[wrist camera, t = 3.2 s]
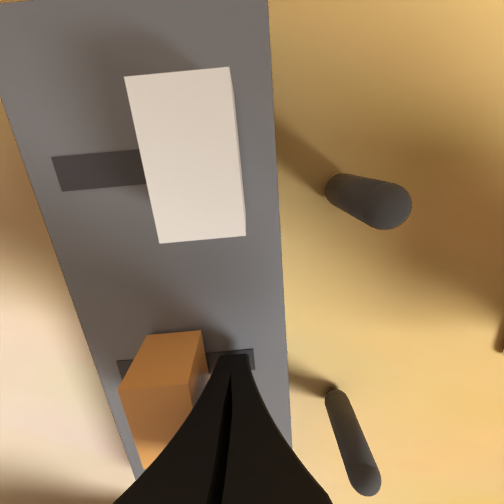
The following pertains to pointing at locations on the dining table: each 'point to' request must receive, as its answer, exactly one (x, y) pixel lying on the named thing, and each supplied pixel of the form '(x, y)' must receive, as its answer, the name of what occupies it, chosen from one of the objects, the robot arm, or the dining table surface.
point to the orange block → (162, 389)
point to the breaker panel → (134, 182)
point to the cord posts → (337, 403)
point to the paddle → (190, 152)
